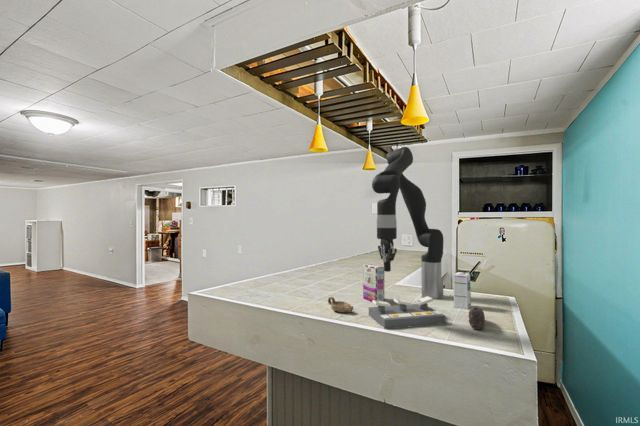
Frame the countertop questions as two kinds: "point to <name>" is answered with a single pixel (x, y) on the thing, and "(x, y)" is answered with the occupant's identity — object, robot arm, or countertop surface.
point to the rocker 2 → (423, 300)
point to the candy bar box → (373, 282)
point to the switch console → (406, 315)
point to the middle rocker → (402, 302)
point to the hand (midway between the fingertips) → (387, 271)
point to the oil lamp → (340, 305)
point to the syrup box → (462, 290)
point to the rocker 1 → (381, 303)
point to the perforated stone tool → (476, 317)
